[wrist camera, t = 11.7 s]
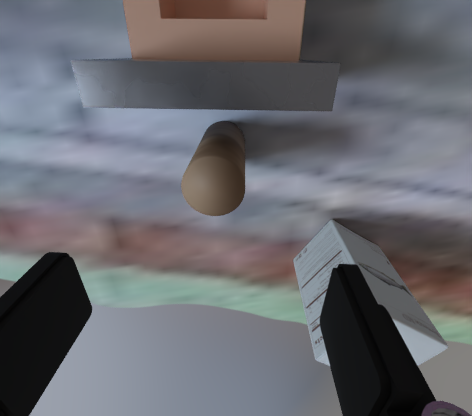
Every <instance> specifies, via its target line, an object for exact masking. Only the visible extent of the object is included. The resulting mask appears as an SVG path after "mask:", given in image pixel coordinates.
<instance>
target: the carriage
mask: <svg viewBox="0 0 472 416" xmlns="http://www.w3.org/2000/svg"><path fill="white" fill-rule="evenodd" d="M123 5H124V11H125V17H126V23H127V29H128V35H129V41H130V47H131V53H132V59H180V60H268V61H299V53H300V44H301V35H302V26H303V17H304V8H305V0H123Z"/></svg>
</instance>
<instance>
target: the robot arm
mask: <svg viewBox="0 0 472 416" xmlns="http://www.w3.org/2000/svg"><path fill="white" fill-rule="evenodd" d="M91 313H92V306H91V303H90V300H89V298H88V295H87V293H86V290H85V288H84V285H83V283H82V280H81V277H80V275H79V272H78V270H77V267H76V265H75V262H74V260H73V258H72V257H70V256H69V254H67V253H58V252H49V253H46V254H45V255H44V256H43V257H42V258H41V259H40V260H39V261H38V262H37V263H36V264H35V265H33V266H32V267H31V268H30V269H29V270H28V271H27V272H26V273H25V274H24V275H23V276H22V277H21V278H20V279H19V280H18V281H17V282H16V283H15V284H14V285H13V286H12V287H11V288H10V289H9V290H8V291H6V292H5V294H3V295H2V296H1V297H0V416H29V414H30V413H31V412H32V410H33V408H34V407H35V405H36V403H37V402H38V400H39V399H40V397H41V395H42V394H43V392H44V391H45V389H46V387H47V386H48V384H49V382H50V381H51V379H52V378H53V376H54V374H55V373H56V371H57V369H58V368H59V366H60V364H61V363H62V361H63V360H64V358H65V356H66V355H67V353H68V352H69V350H70V348H71V347H72V345H73V343H74V342H75V340H76V339H77V337H78V335H79V334H80V332H81V331H82V329H83V327H84V326H85V324H86V322H87V321H88V319H89V317H90V315H91ZM320 328H321V332H322V336H323V340H324V344H325V348H326V352H327V356H328V360H329V363H330V367H331V371H332V375H333V379H334V383H335V387H336V390H337V394H338V398H339V402H340V406H341V410H342V414H343V416H471V415H470V414H469V413H467V412H466V411H465V410H463V409H461V408H459V407H457V406H455V405H453V404H451V403H447V402H444V401H436V399H435V397H434V395H433V394H432V392H431V390H430V388H429V387H428V384H427V383H426V381H425V379H424V377H423V375H422V373H421V371H420V370H419V368H418V366H417V364H416V362H415V360H414V358H413V357H412V355H411V353H410V351H409V349H408V347H407V345H406V344H405V342H404V340H403V338H402V336H401V334H400V332H399V331H398V329H397V327H396V325H395V323H394V321H393V320H392V318H391V316H390V314H389V312H388V311H387V309H386V308H385V307H384V306H383V305H380V304H378V303H377V301H376V299H375V297H374V295H373V293H372V292H371V290H370V288H369V286H368V284H367V282H366V280H365V278H364V276H363V274H362V272H361V270H360V268H359V267H358V265H356V264H339V265H338V267H337V268H333V269H332V272H331V276H330V280H329V284H328V288H327V292H326V296H325V299H324V303H323V307H322V311H321V315H320Z"/></svg>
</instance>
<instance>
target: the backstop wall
mask: <svg viewBox="0 0 472 416" xmlns="http://www.w3.org/2000/svg"><path fill="white" fill-rule="evenodd" d="M71 64H72V68H73V71H74V75H75V79H76V82H77V86H78V90H79V94H80V97H81V101H82V105H83V107H88V108H154V109H219V110H285V111H332V108H333V103H334V98H335V92H336V87H337V81H338V76H339V71H340V65H341V63H332V62H321V61H309V60H299V61H268V60H180V59H132V58H125V59H92V60H71Z"/></svg>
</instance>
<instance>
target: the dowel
mask: <svg viewBox="0 0 472 416" xmlns="http://www.w3.org/2000/svg"><path fill="white" fill-rule="evenodd" d="M181 188H182V193H183V196H184V198H185V200H186V201H187V203H188V204H189V205H190V206H191V207H192V208H193V209H195V210H196V211H198V212H200V213H202V214H205V215H210V216H220V215H225V214H228V213H230V212H232V211H233V210H235V209H236V208H237V207H238V206H239V205H240V203H241V202H242V200H243V198H244V194H245V138H244V135H243V133H242V131H241V130H240V128H239V127H238V126H236V125H235V124H233V123H231V122H227V121H220V122H216V123H214V124H212V125H211V126H210V127H209V128H208V129H207V130H206V132H205V134H204V136H203V138H202V140H201V142H200V144H199V146H198V148H197V150H196V152H195V154H194V155H193V157H192V159H191V161H190V163H189V165H188V167H187V169H186V171H185V173H184V175H183V178H182V183H181Z"/></svg>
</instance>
